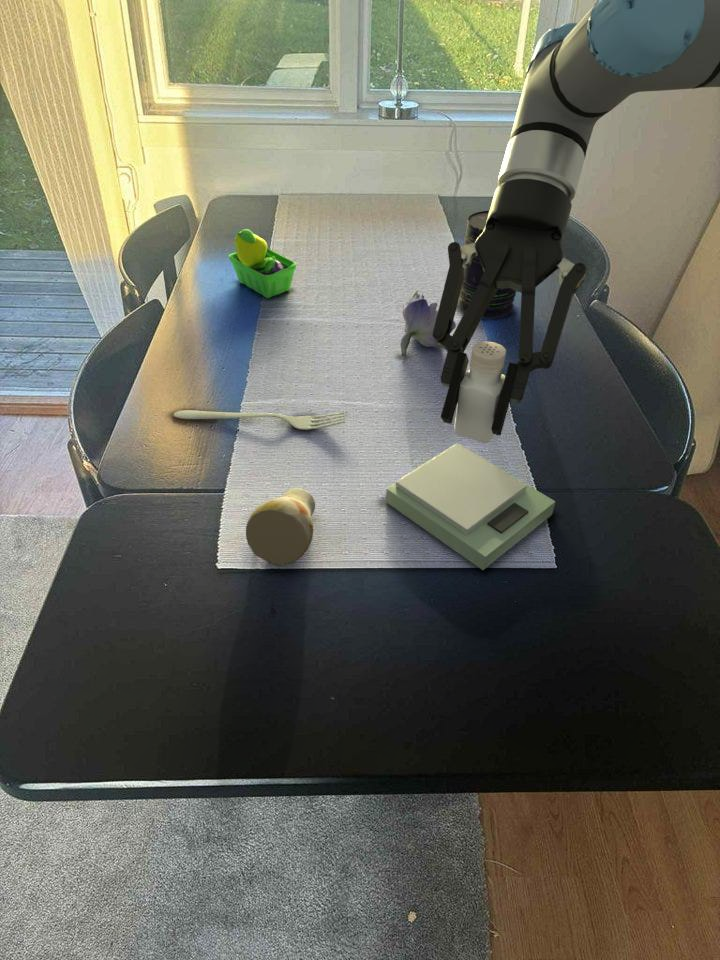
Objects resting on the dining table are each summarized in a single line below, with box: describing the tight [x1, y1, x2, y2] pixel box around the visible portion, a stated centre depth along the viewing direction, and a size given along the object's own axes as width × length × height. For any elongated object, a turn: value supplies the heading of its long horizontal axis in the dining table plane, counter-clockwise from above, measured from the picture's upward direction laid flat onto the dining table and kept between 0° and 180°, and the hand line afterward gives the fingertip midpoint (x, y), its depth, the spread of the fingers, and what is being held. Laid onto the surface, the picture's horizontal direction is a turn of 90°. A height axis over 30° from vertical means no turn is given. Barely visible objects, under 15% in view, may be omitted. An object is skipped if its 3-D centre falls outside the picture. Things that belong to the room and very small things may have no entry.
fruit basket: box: [228, 228, 298, 299], centre depth 124 cm, size 11×9×11 cm
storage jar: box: [457, 210, 517, 319], centre depth 119 cm, size 10×10×15 cm
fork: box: [173, 409, 349, 431], centre depth 96 cm, size 3×24×2 cm, turn 84°
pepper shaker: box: [453, 340, 507, 444], centre depth 69 cm, size 4×4×10 cm
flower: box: [400, 289, 457, 357], centre depth 110 cm, size 9×9×10 cm
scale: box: [385, 443, 556, 571], centre depth 83 cm, size 15×13×3 cm
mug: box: [245, 487, 316, 566], centre depth 77 cm, size 8×10×10 cm
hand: (470, 425), depth 67 cm, fingers closed on pepper shaker, 4 cm apart
